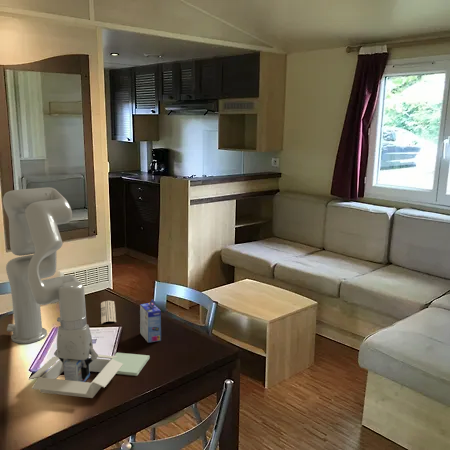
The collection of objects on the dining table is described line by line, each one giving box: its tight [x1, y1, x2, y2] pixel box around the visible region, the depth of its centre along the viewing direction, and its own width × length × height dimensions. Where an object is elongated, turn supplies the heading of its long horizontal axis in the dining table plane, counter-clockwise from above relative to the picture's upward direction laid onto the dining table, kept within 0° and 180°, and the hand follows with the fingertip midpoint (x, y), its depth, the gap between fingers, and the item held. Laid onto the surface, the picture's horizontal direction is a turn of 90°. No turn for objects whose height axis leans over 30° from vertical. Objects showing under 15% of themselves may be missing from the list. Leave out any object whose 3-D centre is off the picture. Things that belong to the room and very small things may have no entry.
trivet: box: [110, 352, 151, 377], centre depth 160 cm, size 12×12×1 cm
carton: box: [28, 354, 123, 399], centre depth 149 cm, size 25×23×5 cm
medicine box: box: [63, 359, 91, 382], centre depth 149 cm, size 8×4×9 cm, turn 168°
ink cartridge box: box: [139, 299, 162, 344], centre depth 180 cm, size 10×6×14 cm, turn 27°
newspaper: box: [100, 300, 117, 325], centre depth 205 cm, size 24×7×2 cm, turn 15°
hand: (77, 375), depth 150 cm, fingers closed on medicine box, 4 cm apart
